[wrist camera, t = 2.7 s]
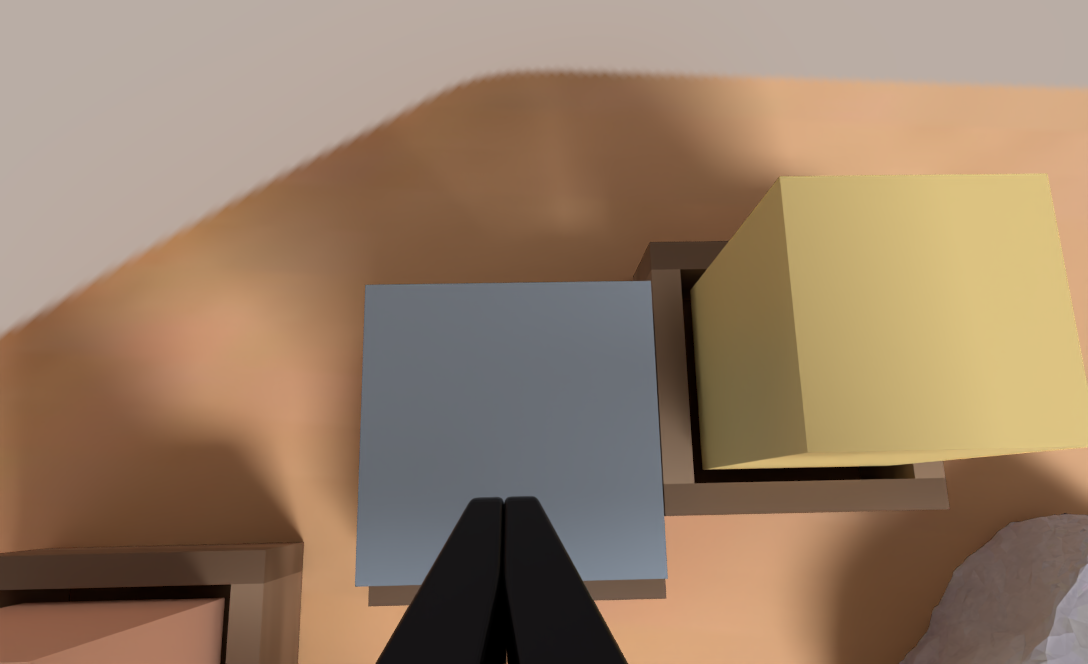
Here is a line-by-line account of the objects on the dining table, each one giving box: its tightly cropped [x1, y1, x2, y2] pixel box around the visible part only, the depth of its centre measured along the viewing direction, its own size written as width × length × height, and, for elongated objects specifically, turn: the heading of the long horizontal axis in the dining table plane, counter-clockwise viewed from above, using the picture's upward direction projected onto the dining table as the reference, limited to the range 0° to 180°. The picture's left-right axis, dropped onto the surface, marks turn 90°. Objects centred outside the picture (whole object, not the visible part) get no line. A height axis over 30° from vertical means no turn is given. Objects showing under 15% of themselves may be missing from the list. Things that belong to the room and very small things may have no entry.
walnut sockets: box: [0, 241, 950, 664], centre depth 20 cm, size 15×25×3 cm, turn 91°
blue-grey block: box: [355, 281, 668, 587], centre depth 16 cm, size 5×5×8 cm
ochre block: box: [690, 174, 1088, 470], centre depth 17 cm, size 5×5×8 cm
